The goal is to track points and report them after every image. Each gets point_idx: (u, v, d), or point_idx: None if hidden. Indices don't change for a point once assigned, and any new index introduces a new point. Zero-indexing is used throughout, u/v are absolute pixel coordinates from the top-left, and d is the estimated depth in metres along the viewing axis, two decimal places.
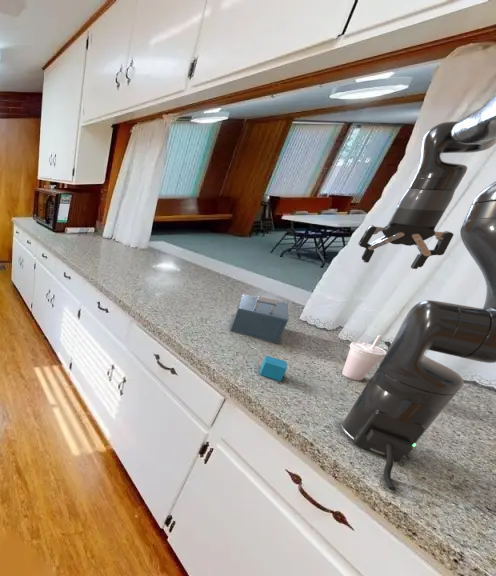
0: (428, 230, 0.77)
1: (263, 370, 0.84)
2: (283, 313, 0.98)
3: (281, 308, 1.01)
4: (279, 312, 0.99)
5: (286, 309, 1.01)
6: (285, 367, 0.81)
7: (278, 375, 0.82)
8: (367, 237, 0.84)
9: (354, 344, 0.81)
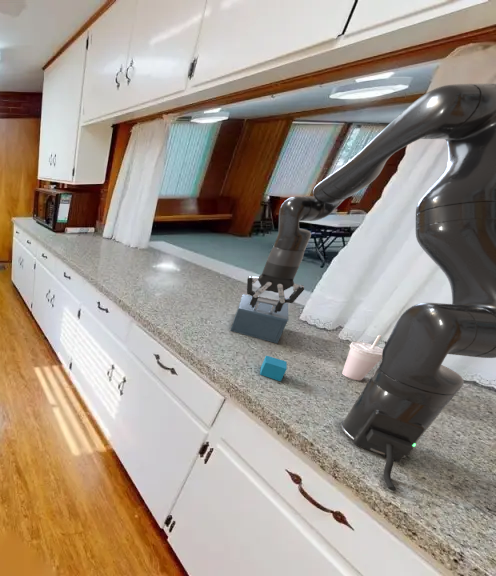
0: (289, 281, 0.92)
1: (263, 370, 0.84)
2: (283, 313, 0.98)
3: None
4: (279, 312, 0.99)
5: (286, 309, 1.01)
6: (285, 367, 0.81)
7: (278, 375, 0.82)
8: (249, 286, 0.99)
9: (354, 344, 0.81)
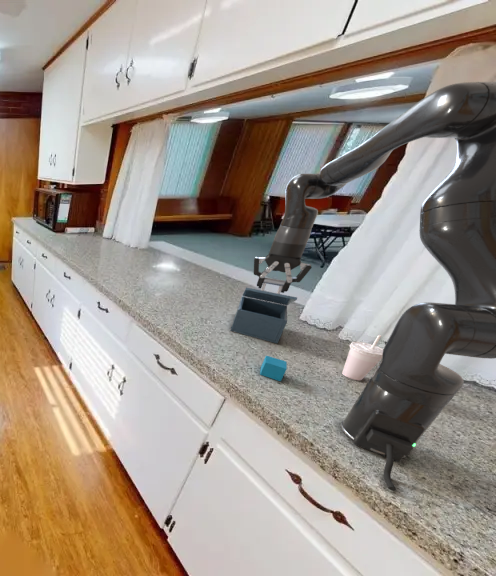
0: (297, 260, 0.92)
1: (263, 370, 0.84)
2: None
3: None
4: None
5: None
6: (285, 367, 0.81)
7: (278, 375, 0.82)
8: (255, 267, 0.99)
9: (354, 344, 0.81)
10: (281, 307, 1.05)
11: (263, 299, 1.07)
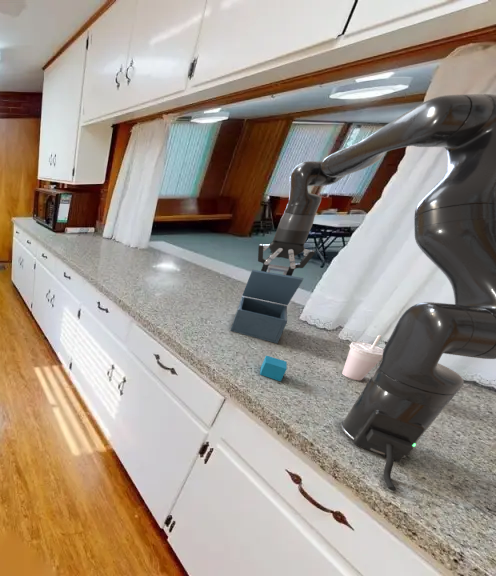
0: (300, 246, 0.95)
1: (263, 370, 0.84)
2: None
3: None
4: None
5: None
6: (285, 367, 0.81)
7: (278, 375, 0.82)
8: (260, 254, 1.02)
9: (354, 344, 0.81)
10: (281, 307, 1.05)
11: (264, 296, 1.07)
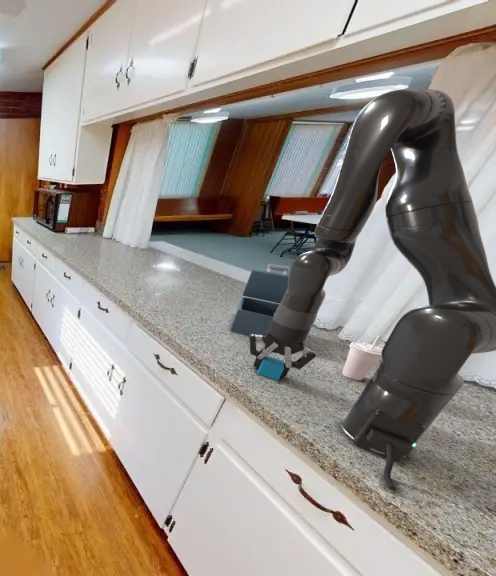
0: (299, 345, 0.78)
1: (261, 369, 0.84)
2: None
3: None
4: None
5: None
6: (282, 366, 0.81)
7: (276, 374, 0.82)
8: (252, 346, 0.85)
9: (354, 344, 0.81)
10: None
11: (264, 296, 1.07)
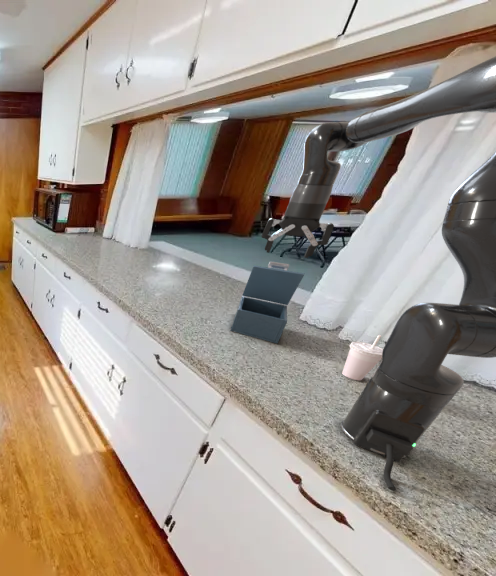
0: (314, 222, 0.84)
1: None
2: None
3: None
4: None
5: None
6: None
7: None
8: (266, 229, 0.91)
9: (354, 344, 0.81)
10: (281, 307, 1.05)
11: (264, 295, 1.07)
